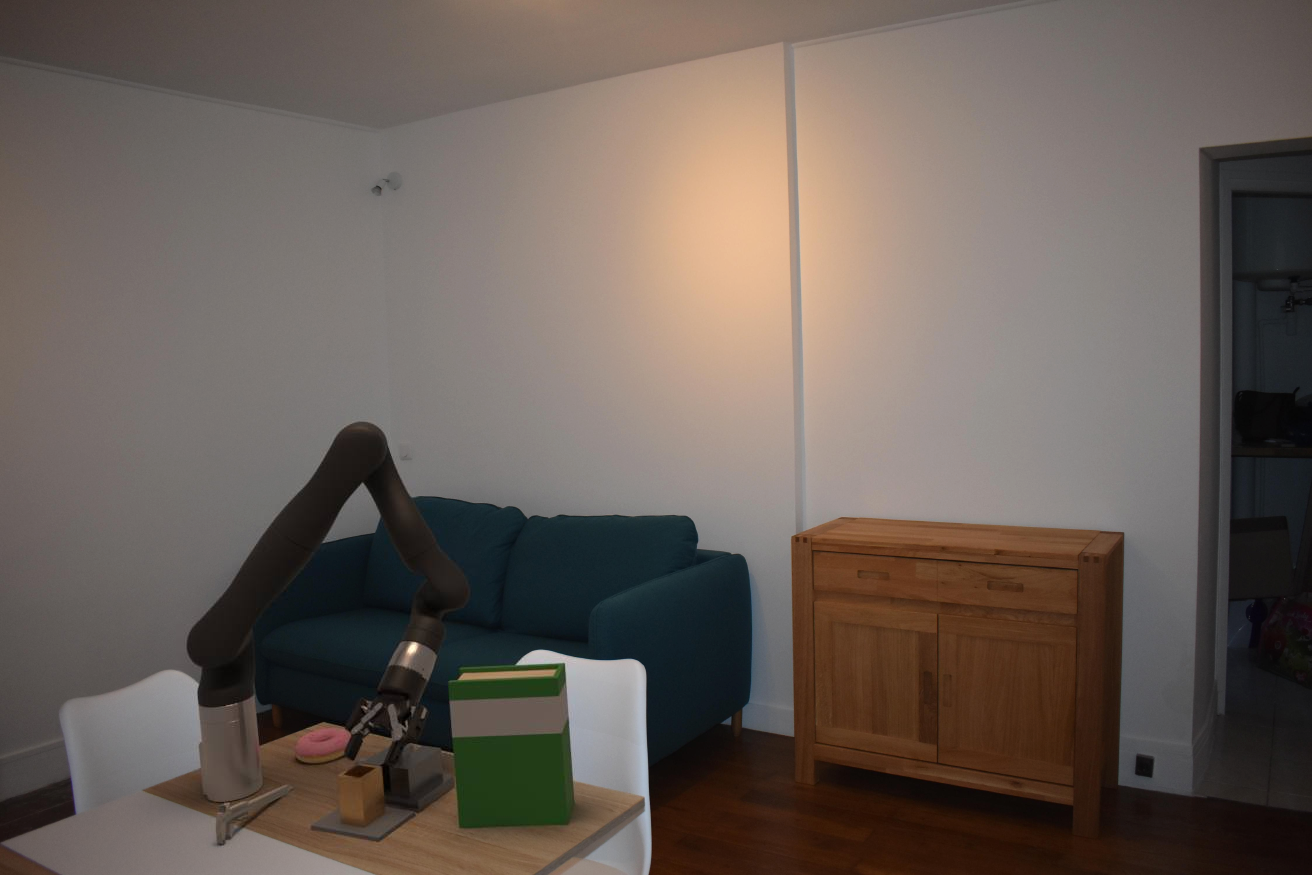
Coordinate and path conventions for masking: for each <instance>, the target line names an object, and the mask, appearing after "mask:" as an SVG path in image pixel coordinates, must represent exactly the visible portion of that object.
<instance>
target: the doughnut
mask: <svg viewBox="0 0 1312 875" xmlns="http://www.w3.org/2000/svg"><path fill="white" fill-rule="evenodd" d="M350 737H351V733H350V732H349V731H347V730H346V729H345V728H342V727H327V728H322V729H321V728H320V729H317V730H313V731H311V732H308V733H306V734H304V735H302V736H300V738H299V739H297V741H296V742H295V744H294V748H293V751H294V754H295V757H296V758H297V759H298V760H299V761H300V762H303V763H305V764H323V763H327V762H332V761H334V760H337V759H339V758H341V757H343V756H344V750H345V748H346V746H347V744H348V742H349V740H350Z"/></svg>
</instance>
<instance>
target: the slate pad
mask: <svg viewBox="0 0 1312 875" xmlns="http://www.w3.org/2000/svg"><path fill="white" fill-rule="evenodd" d="M385 812H386V813H385V814H384V815H382V816H381V817H380V818H378V819H377V820H375V821H374V822H372V823H371V824H369V825H368V826H366V827H365V828H364V827H359V826H353V825H348V824H342V823H341V818H340V806H339V807H338V808H336V809H335V810H332V811H331V812H329V813H328V814H326V815H325V816H323V817H322V818H321V819H319V820H317V821H315V822H313V823H312V824H311V825H310V829H311V830H315V831H319V832H326V833H332V834H335V835H336V834H337V835H341V836H342V835H343V836H346V837H347V836H348V837H353V838H359V839H363V840H368V841H374V842H379V843H380V841H382V840H383V839H384V838H386V837H387V836H388V835H391V833H393V832H394V831H395V830H397V829H398V828H400V827H401V826H403V825H404V824H405V823H407V822H408V821H410V819H412V818H414V816H416V812H414V811H408V810H402V809H396V808H390V807H385Z"/></svg>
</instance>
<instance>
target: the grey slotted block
mask: <svg viewBox="0 0 1312 875" xmlns="http://www.w3.org/2000/svg"><path fill="white" fill-rule="evenodd" d="M406 722H407V727H408V726H409V724H408V720H407V721H406ZM390 732H391V743H392V742H393V741H396V739H395V735H394V731H393V730H390ZM390 746H391V745H389V746H387V747H385V748H384V749H382V750H380V751H379V752H377V753H375V754H374V755H372V756H370V757H369V758H363V757H362V758H361V757H358V758H357V759H355V763H354V764H355V765H356V764H358V763H359V764H366V765H373V766H380V767H382V776H383V788H384V800H385V807H390V808H396V809H402V810H408V811H414V812H415V813H420V812H422V811H423V810H424V809H425V808H427V807H429V806H430V805H431V804H433V803H434V802H436V800H438V799H440V798H441V797H442V796H444V795H445V794H446V793H448V792H449V791H451V790H452V789H453V788H455V787H456V782H455V775H453V774H446V773H444V772H443V759H442V749H441V747H437V746H436V747H435V746H429V745H428V746H427V745H421V746H420V747H418V748H417V749H415V744H413V743H410V744H408V745H407V746H405V747H404V750H403V752H402V754H401V757H400V759H399V761H398V763H397V764H395V766H394V767H389V766H388V765H386V764H385V763H384V760H385V758H386V755H387V753H388V751H389V749H390ZM355 765H354V766H355Z"/></svg>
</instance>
